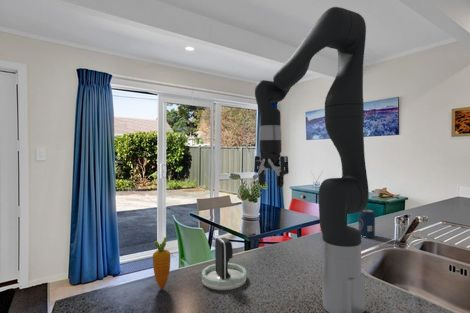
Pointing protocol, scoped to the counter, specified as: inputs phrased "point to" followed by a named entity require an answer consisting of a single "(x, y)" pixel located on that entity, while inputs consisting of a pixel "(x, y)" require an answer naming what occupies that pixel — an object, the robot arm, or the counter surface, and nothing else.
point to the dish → (218, 283)
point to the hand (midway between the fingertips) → (270, 185)
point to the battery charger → (223, 256)
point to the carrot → (161, 264)
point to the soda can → (367, 223)
